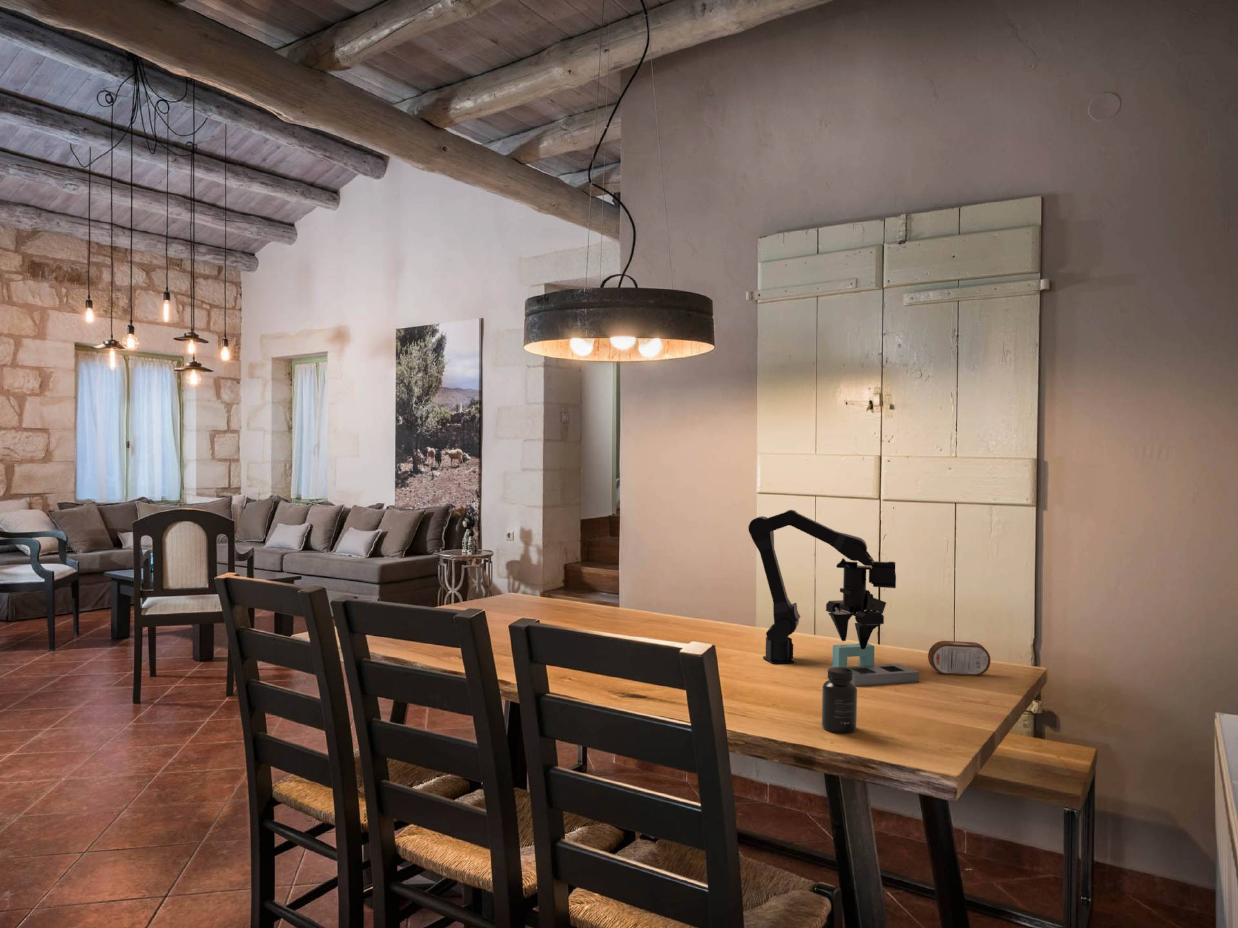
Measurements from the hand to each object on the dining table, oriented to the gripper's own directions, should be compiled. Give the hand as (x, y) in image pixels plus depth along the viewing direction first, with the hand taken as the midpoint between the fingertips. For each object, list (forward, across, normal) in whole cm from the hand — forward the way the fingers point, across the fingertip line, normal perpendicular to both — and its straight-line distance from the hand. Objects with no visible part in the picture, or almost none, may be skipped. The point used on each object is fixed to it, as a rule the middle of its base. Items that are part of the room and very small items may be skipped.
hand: (853, 644), depth 209 cm
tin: (+6, -11, -24) cm, 27 cm away
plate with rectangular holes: (+6, -11, 0) cm, 13 cm away
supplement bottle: (+6, -41, +29) cm, 51 cm away
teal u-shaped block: (+6, 0, 0) cm, 6 cm away
